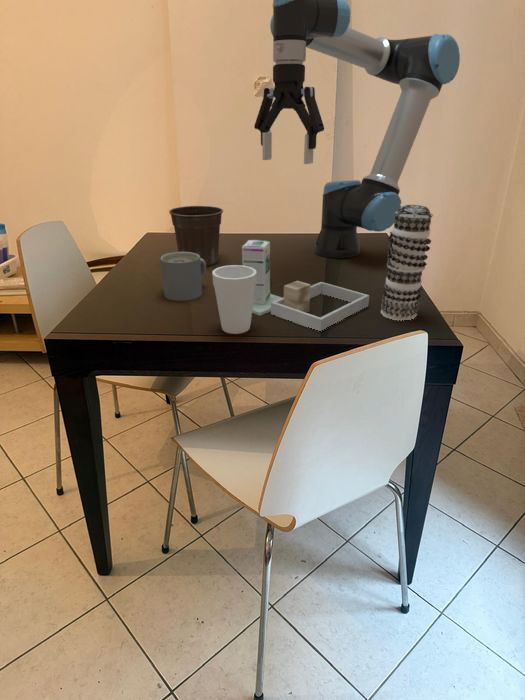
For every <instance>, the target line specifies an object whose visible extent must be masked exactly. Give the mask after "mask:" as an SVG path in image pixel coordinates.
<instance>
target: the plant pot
mask: <svg viewBox="0 0 525 700" xmlns="http://www.w3.org/2000/svg"><path fill="white" fill-rule="evenodd" d="M168 212H169V214H170V216H171V223H172V225H173V227H174V234H175V240H176V245H177V252H192V253H196V254H198V255H199V256H200V258H202V259H203V260H204V261H205V263H206V267H209V266H213V265H216V264H217V263H218V262H219V247H220V243H219V242H220V230H221V228H220V227H221V224H222V216H223V215H222V214H223V213H224V209H222V208H220V207H217V206H212V205H210V206H209V205H187V206H185V205H184V206H179V207H174V208H172V209H169V211H168Z"/></svg>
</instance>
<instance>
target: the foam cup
mask: <svg viewBox="0 0 525 700" xmlns="http://www.w3.org/2000/svg"><path fill="white" fill-rule="evenodd" d="M211 273H212V274H211V275H212V285H213V287H214V293H215V297H216V298H215V299H216V304H217V308H218V315H219V320H220V321H219V322H220V325H221V330H222V331H224V333H227V334H233V335H238V334H243V333H246V332H248V331H249V330H250V329H251V328H250V327H251V322H252V314H253V313H252V309H253V301H254V293H255V286H256V284H257V272H256V270H255V269H253V268H252V267H248V266H242V265H241V264H239V265H238V264H233V265H232V264H231V265H223V266H219V267H216V268H215V269H213V270H212V272H211Z"/></svg>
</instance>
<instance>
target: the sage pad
mask: <svg viewBox="0 0 525 700" xmlns="http://www.w3.org/2000/svg"><path fill="white" fill-rule="evenodd" d="M281 298H283V297H281V296H278V295H275V294H272V293H270V298H269V299H268V301H267V302H266V304H253V309H252V314H255V315H256V316H259V317H261V316H264V315H265V313H266V314H268V313H269V312H270V313H271V302H273V301H276V300H278V299H281Z"/></svg>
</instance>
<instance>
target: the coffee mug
mask: <svg viewBox="0 0 525 700" xmlns="http://www.w3.org/2000/svg"><path fill="white" fill-rule="evenodd" d="M160 269H161V276H162V277H161V278H162V279H161V280H162V288H163V296H164V298H165V299H167V300H170V301H175V302H187V301H193V300H196V299H198V298H200V297H201V296H202V295H203V286H202V285H203V283H202V280H203V279H204V278H205V276H206V273H207V266H206V263H205V261H204V260H203V259H202V258H200V256H199V255H198V254H196V253H192V252H178V251H174V252H168V253H164V254H163V255H161V257H160Z"/></svg>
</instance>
